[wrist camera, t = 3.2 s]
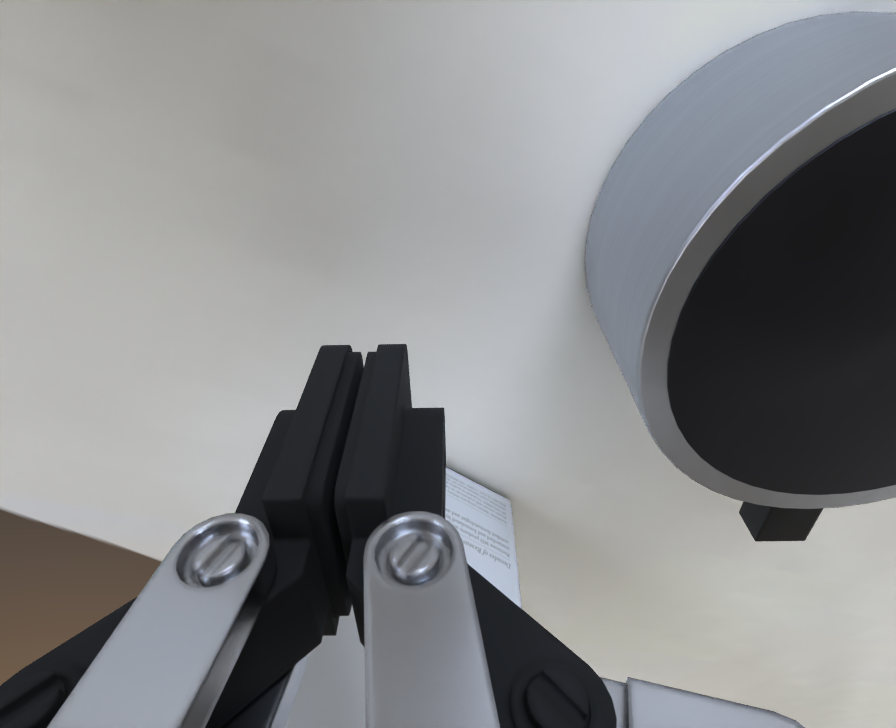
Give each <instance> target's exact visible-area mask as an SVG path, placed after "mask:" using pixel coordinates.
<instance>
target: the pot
mask: <svg viewBox="0 0 896 728" xmlns="http://www.w3.org/2000/svg"><path fill="white" fill-rule="evenodd" d="M585 272H586V284H587V289H588V293H589V298H590V302H591V306H592V308H593V310H594V313H595V315H596V318H597V320H598V322H599V325H600V327H601V329H602V331H603V333H604V335H605V338H606V340H607V342H608V344H609V346H610V349H611V351H612V353H613V355H614V357H615V359H616V362H617V364H618V366H619V368H620V370H621V372H622V375H623V377H624V379H625V381H626V383H627V386H628V388H629V390H630V392H631V394H632V396H633V399H634V401H635V403H636V405H637V407H638V409H639V412H640V414H641V416H642V418H643V420H644V423H645V425H646V427H647V429H648V431H649V433H650V435H651V437H652V438H653V440H654V441H655V443H656V444H657V446H658V447H659V449H660V451H661V452H662V453H663V454H664V455H665V456H666V457H667V458H668V459H669V460H670V462H671V463H672V464H673V465H674V466H675V467H676V468H678V469H679V470H680V471H682V472H683V473H684V474H686V475H687V476H688V477H690V478H691V479H692V480H694V481H695V482H697V483H699V484H701V485H703V486H705V487H706V488H708V489H710V490H712V491H714V492H717V493H719V494H722V495H725V496H728V497H730V498H733V499H736V500H740V501H744V502H743V504H742V506H741V509H740V511H739V513H740V515H741V517H742V519H743V520H744V522H745V524H746V526H747V528H748V529H749V531H750V533H751V535H752V536H753V538H754V540H755V541H804V540H806V538H807V536H808V534H809V533H810V531H811V529H812V527H813V526H814V524H815V522H816V520H817V519H818V517H819V515H820V513H821V512H822V510H823V508H835V507H844V506H852V505H859V504H866V503H871V502H876V501H881V500H886V499H890V498H895V497H896V13H878V12H845V13H836V14H826V15H819V16H815V17H811V18H807V19H803V20H799V21H794V22H790V23H787V24H784V25H782V26H779V27H777V28H774V29H771V30H769V31H766V32H764V33H761V34H758V35H756V36H754V37H752V38H750V39H748V40H746V41H744V42H742V43H741V44H739V45H737V46H735V47H733V48H731V49H729V50H727V51H725V52H724V53H722V54H721V55H719V56H718V57H716V58H715V59H713V60H712V61H710V62H709V63H707V64H706V65H704V66H703V67H701V68H700V69H698V70H697V71H696V72H694V73H693V74H692V75H691V76H690V77H688V78H687V79H686V80H685V81H684V82H682V83H681V84H680V85H679V86H678V87H677V88H675V89H674V90H673V91H672V92H671V93H669V95H668V96H667V97H666V98H665V99H664V100H663V101H662V102H661V103H660V104H659V105H658V106H657V107H656V108H655V109H654V110H653V111H652V112H651V113H650V114H649V115H648V116H647V117H646V119H645V120H644V121H643V123H642V124H641V125H640V126H639V128H638V129H637V130H636V131H635V133H634V134H633V135H632V137H631V138H630V139H629V140H628V142H627V143H626V145H625V147H624V148H623V150H622V151H621V153H620V155H619V156H618V158H617V159H616V161H615V163H614V164H613V166H612V168H611V170H610V172H609V174H608V176H607V178H606V180H605V182H604V184H603V187H602V189H601V191H600V193H599V196H598V199H597V202H596V205H595V208H594V211H593V214H592V217H591V221H590V226H589V231H588V236H587V241H586V255H585Z"/></svg>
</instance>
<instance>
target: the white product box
mask: <svg viewBox="0 0 896 728" xmlns="http://www.w3.org/2000/svg"><path fill="white" fill-rule="evenodd" d="M445 519H446V520H448V521H449V522H450V523H451V524H452V525H453V526H454V527H455V528H456V529H457V531H458V532H459V534H460V537H461V539H462V542H463V545H464V550H465V555H466V560H467V564H469V565H470V566H471V567H472V568H473V569H475V570H476V571H477V572H478V573H479V574H481V575H482V576H483V577H484V578H485V579H486V580H488V581H489V582H490V583H491V584H492V585H494V586H495V587H496V588H497V589H498V590H500V591H501V592H502V593H503V594H504V595H506V596H507V597H508V598H509V599H510V600H512V601H513V602H514V603H515V604H516V605H517V606H519V607H520V608H521V609H522V602H521V593H520V584H519V574H518V564H517V555H516V546H515V537H514V527H513V517H512V507H511V501H510V500H508V499H506V498H504V497H502V496H500V495H498V494H496V493H494V492H492V491H491V490H489V489H487V488H485V487H483V486H481V485H479V484H477V483H475V482H473V481H471V480H469V479H467V478H466V477H464V476H462V475H460V474H458V473H456V472H454V471H452V470H450V469H448V468H447V467H446V501H445ZM284 728H366V718H365V647H364V646H363V645H362V644H361V643H360V639H359V634H358V630H357V625H356V620H355V616H354V611H353V606H352V607H351V611H350V614H349V616H340V617H339V623H338V628H337V633H336V636H323V637H322V642H321V644H319V645H318V646H317V647H316V648H315V649H313V650H312V651H311V652H310V653H309V654H308V655H307V663H306V668H305V673H304V675H303V678H302V681H301V684H300V686H299V689H298V692H297V695H296V697H295V700H294V703H293V705H292V708H291V711H290V714H289V716H288V719H287V722H286V725H285V727H284Z"/></svg>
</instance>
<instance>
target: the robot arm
mask: <svg viewBox="0 0 896 728" xmlns="http://www.w3.org/2000/svg"><path fill="white" fill-rule="evenodd" d="M445 501H446V446H445V416H444V408H412V403H411V390H410V377H409V365H408V352H407V345H406V344H381V345H378V348H377V352H368V354H367V357H366V361H365V366H363V359H362V354H361V352H352V348H351V346H350V345H324V346H321V348H320V350H319V352H318V355H317V357H316V360H315V363H314V365H313V368H312V370H311V373H310V375H309V378H308V381H307V383H306V386H305V388H304V391H303V393H302V396H301V399H300V401H299V404H298V406H297V409H296V410H282V411H281V412H279V414H278V415H277V417H276V419H275V421H274V424H273V426H272V428H271V431H270V433H269V435H268V437H267V440H266V442H265V444H264V447H263V449H262V451H261V454H260V456H259V458H258V461H257V463H256V465H255V468H254V470H253V472H252V475H251V477H250V479H249V482H248V484H247V486H246V489H245V491H244V493H243V496H242V498H241V500H240V503H239V505H238V507H237V510H236V512H235V513H232V514H224V515H220V516H216V517H212V518H210V519H207V520H205V521H203V522H201V523H199V524H197V525H196V526H194V527H193V528H191V529H190V530H189V531H187V532H186V533H185V534H183V535H182V537H181V538H180V539H179V540H178V541H177V542H176V543H175V544H174V546H173V547H172V548H171V550H170V551H169V552H168V554H167V555H166V557H165V558H164V560H163V561H162V563H161V564H160V565H159V567H158V569H157V570H156V571H155V573H154V574H153V576H152V577H151V578H150V580H149V581H148V583H147V584H146V586H145V587H144V589H143V590H142V591H141V593H140V594H139V596H138V597H136V598H135V599H133V600H132V601H130V602H128V603H127V604H125V605H123V606H122V607H120V608H119V609H117V610H115V611H114V612H112V613H111V614H109V615H108V616H106V617H104V618H103V619H101V620H100V621H98V622H96V623H95V624H93V625H92V626H90V627H88V628H87V629H85V630H84V631H82V632H81V633H79V634H77V635H76V636H74V637H72V638H71V639H69V640H68V641H66V642H65V643H63V644H61V645H60V646H58V647H57V648H55V649H54V650H52V651H50V652H49V653H47V654H45V655H44V656H42V657H41V658H39V659H37V660H36V661H34V662H33V663H31V664H30V665H28V666H26V667H25V668H23V669H22V670H20V671H19V672H18V673H16V674H15V675H14V676H12V677H11V678H10V679H8V680H7V681H6V682H4V683H3V684H2V685H1V686H0V728H284V727H285V725H286V722H287V719H288V716H289V714H290V711H291V708H292V705H293V703H294V700H295V697H296V695H297V692H298V689H299V686H300V684H301V681H302V678H303V675H304V673H305V668H306V663H307V655H308V654H309V653H310V652H311V651H312V650H313V649H315V648H316V647H317V646H318V645H319V644H321V642H322V637H323V636H336V633H337V628H338V623H339V617H340V616H349V614H350V611H351V607H352V606H353V611H354V616H355V620H356V625H357V630H358V634H359V639H360V643H361V644H362V645H363V646H364V647H365V718H366V728H805V727H803V726H802V725H801V724H800V723H798V722H797V721H796V720H793V719H791V718H788V717H786V716H783V715H781V714H779V713H776V712H774V711H769V710H765V709H761V708H757V707H752V706H748V705H744V704H740V703H736V702H731V701H727V700H723V699H719V698H714V697H710V696H706V695H702V694H698V693H693V692H689V691H685V690H681V689H676V688H672V687H668V686H664V685H660V684H655V683H651V682H647V681H643V680H638V679H634V678H630V677H628V678H627V681H626V683H622V682H618V681H614V680H610V679H606V678H602V677H599V676H598V675H597V674H596V673H595V672H594V671H593V669H592V668H591V667H590V666H589V665H588V664H587V663H585V662H584V661H583V660H582V659H581V658H579V657H578V656H577V655H576V654H575V653H573V652H572V651H571V650H570V649H569V648H567V647H566V646H565V645H564V644H563V643H562V642H560V641H559V640H558V639H557V638H556V637H554V636H553V635H552V634H551V633H550V632H548V631H547V630H546V629H545V628H544V627H542V626H541V625H540V624H539V623H538V622H537V621H535V620H534V619H533V618H532V617H531V616H529V615H528V614H527V613H526V612H525V611H523V610H522V609H521V608H520V607H519V606H517V605H516V604H515V603H514V602H513V601H512V600H510V599H509V598H508V597H507V596H506V595H504V594H503V593H502V592H501V591H500V590H498V589H497V588H496V587H495V586H494V585H492V584H491V583H490V582H489V581H488V580H486V579H485V578H484V577H483V576H482V575H481V574H479V573H478V572H477V571H476V570H475V569H473V568H472V567H471V566H470V565H469V564H467V560H466V555H465V550H464V545H463V542H462V539H461V537H460V534H459V532H458V531H457V529H456V528H455V527H454V526H453V525H452V524H451V523H450V522H449V521H448V520H446V519H445Z"/></svg>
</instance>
